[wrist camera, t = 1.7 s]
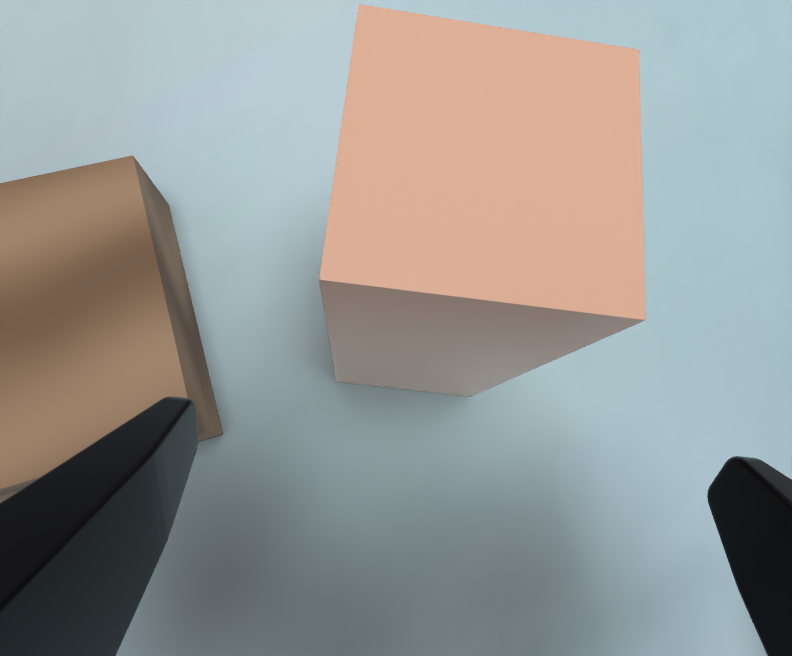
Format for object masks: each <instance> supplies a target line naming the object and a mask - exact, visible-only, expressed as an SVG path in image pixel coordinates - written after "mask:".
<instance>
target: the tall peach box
mask: <svg viewBox="0 0 792 656" xmlns="http://www.w3.org/2000/svg"><path fill="white" fill-rule="evenodd" d="M319 282H320V288H321V294H322V300H323V306H324V312H325V318H326V324H327V330H328V336H329V342H330V348H331V354H332V360H333V366H334V372H335V378H336V382H342V383H351V384H360V385H369V386H378V387H387V388H396V389H406V390H415V391H424V392H433V393H442V394H451V395H460V396H469V397H470V396H473V395H475V394H477V393H480V392H482V391H484V390H486V389H489V388H491V387H493V386H496V385H498V384H500V383H503V382H505V381H507V380H509V379H512V378H514V377H516V376H519V375H521V374H523V373H525V372H528V371H530V370H532V369H535V368H537V367H539V366H542V365H544V364H546V363H548V362H551V361H553V360H555V359H558V358H560V357H562V356H564V355H567V354H569V353H571V352H574V351H576V350H578V349H581V348H583V347H585V346H587V345H590V344H592V343H594V342H597V341H599V340H601V339H603V338H606V337H608V336H610V335H613V334H615V333H617V332H620V331H622V330H624V329H626V328H629V327H631V326H633V325H636V324H638V323H640V322H642V321H645V320H646V311H645V271H644V230H643V190H642V150H641V110H640V70H639V50H638V49H632V48H626V47H619V46H613V45H607V44H601V43H595V42H589V41H582V40H576V39H570V38H564V37H558V36H551V35H545V34H539V33H533V32H527V31H521V30H514V29H508V28H502V27H496V26H490V25H484V24H477V23H471V22H465V21H459V20H453V19H446V18H440V17H434V16H428V15H422V14H416V13H409V12H403V11H397V10H391V9H385V8H379V7H372V6H366V5H360V4H359V6H358V13H357V20H356V27H355V34H354V41H353V48H352V55H351V62H350V69H349V76H348V82H347V89H346V96H345V103H344V110H343V117H342V124H341V131H340V138H339V145H338V152H337V159H336V166H335V173H334V180H333V187H332V194H331V201H330V208H329V214H328V221H327V228H326V235H325V242H324V249H323V256H322V263H321V270H320V277H319Z"/></svg>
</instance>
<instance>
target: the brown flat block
mask: <svg viewBox="0 0 792 656" xmlns="http://www.w3.org/2000/svg"><path fill="white" fill-rule="evenodd" d="M169 396H172V397H182V398H190V399H192V400H193V401H194V403H195V407H196V417H197V428H198V442H199V441H203V440H206V439H209V438H212V437H216V436H219V435H222V434H223V432H222V427H221V423H220V419H219V415H218V411H217V406H216V402H215V398H214V394H213V390H212V385H211V381H210V377H209V373H208V368H207V364H206V360H205V356H204V352H203V347H202V343H201V339H200V335H199V330H198V326H197V322H196V318H195V314H194V309H193V305H192V301H191V297H190V293H189V288H188V284H187V280H186V276H185V271H184V267H183V263H182V259H181V255H180V250H179V246H178V242H177V238H176V234H175V229H174V225H173V221H172V217H171V212H170V208H169V204H168V203H167V202H166V200H165V199H164V197H163V196H162V195H161V193H160V192H159V191H158V189H157V188H156V186H155V185H154V184H153V182H152V181H151V180H150V178H149V177H148V175H147V174H146V173H145V171H144V170H143V169H142V167H141V166H140V164H139V163H138V162H137V160H136V159H135V158H134V156H129V157H124V158H119V159H114V160H109V161H105V162H100V163H95V164H90V165H86V166H81V167H76V168H71V169H67V170H62V171H57V172H52V173H48V174H43V175H38V176H33V177H29V178H24V179H19V180H14V181H9V182H5V183H0V502H2V501H4V500H6V499H7V498H9V497H10V496H12V495H13V494H15V493H17V492H18V491H20V490H21V489H23V488H24V487H26V486H27V485H29V484H31V483H32V482H34V481H35V480H37V479H38V478H40V477H41V476H43V475H45V474H46V473H48V472H49V471H51V470H52V469H54V468H55V467H57V466H58V465H60V464H62V463H63V462H65V461H66V460H68V459H69V458H71V457H72V456H74V455H76V454H77V453H79V452H80V451H82V450H83V449H85V448H86V447H88V446H90V445H91V444H93V443H94V442H96V441H97V440H99V439H100V438H102V437H104V436H105V435H107V434H108V433H110V432H111V431H113V430H114V429H116V428H118V427H119V426H121V425H122V424H124V423H125V422H127V421H128V420H130V419H132V418H133V417H135V416H136V415H138V414H139V413H141V412H142V411H144V410H145V409H147V408H149V407H150V406H152V405H153V404H155V403H156V402H158V401H159V400H161V399H163V398H165V397H169Z"/></svg>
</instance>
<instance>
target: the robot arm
mask: <svg viewBox="0 0 792 656" xmlns="http://www.w3.org/2000/svg"><path fill="white" fill-rule="evenodd" d="M197 446H198V428H197V417H196V407H195V403H194V401H193V400H192V399H190V398H182V397H172V396H169V397H165V398H163V399H161V400H159V401H158V402H156V403H155V404H153V405H152V406H150V407H149V408H147V409H145V410H144V411H142V412H141V413H139V414H138V415H136V416H135V417H133V418H132V419H130V420H128V421H127V422H125V423H124V424H122V425H121V426H119V427H118V428H116V429H114V430H113V431H111V432H110V433H108V434H107V435H105V436H104V437H102V438H100V439H99V440H97V441H96V442H94V443H93V444H91V445H90V446H88V447H86V448H85V449H83V450H82V451H80V452H79V453H77V454H76V455H74V456H72V457H71V458H69V459H68V460H66V461H65V462H63V463H62V464H60V465H58V466H57V467H55V468H54V469H52V470H51V471H49V472H48V473H46V474H45V475H43V476H41V477H40V478H38V479H37V480H35V481H34V482H32V483H31V484H29V485H27V486H26V487H24V488H23V489H21V490H20V491H18V492H17V493H15V494H13V495H12V496H10V497H9V498H7V499H6V500H4V501H3V502H1V503H0V656H116V654H117V651H118V649H119V647H120V645H121V642H122V640H123V638H124V636H125V634H126V631H127V629H128V627H129V625H130V623H131V620H132V618H133V616H134V614H135V611H136V609H137V607H138V605H139V603H140V600H141V598H142V596H143V594H144V592H145V589H146V587H147V585H148V583H149V581H150V578H151V576H152V574H153V572H154V569H155V567H156V565H157V563H158V561H159V558H160V556H161V554H162V551H163V549H164V547H165V544H166V542H167V539H168V537H169V534H170V531H171V528H172V525H173V522H174V519H175V516H176V513H177V509H178V506H179V503H180V500H181V497H182V494H183V491H184V488H185V485H186V482H187V478H188V475H189V472H190V469H191V466H192V463H193V460H194V457H195V454H196V450H197ZM707 497H708V503H709V506H710V509H711V512H712V515H713V518H714V521H715V524H716V527H717V529H718V532H719V535H720V538H721V541H722V544H723V547H724V550H725V553H726V556H727V559H728V562H729V564H730V567H731V570H732V573H733V576H734V579H735V581H736V584H737V587H738V590H739V592H740V594H741V597H742V599H743V601H744V604H745V606H746V608H747V611H748V613H749V615H750V617H751V619H752V622H753V624H754V626H755V628H756V631H757V633H758V635H759V637H760V640H761V642H762V644H763V646H764V648H765V651H766V653H767V655H768V656H792V480H791V479H790V478H788V477H786V476H785V475H783V474H782V473H780V472H779V471H777V470H776V469H774V468H773V467H771V466H769V465H768V464H766V463H765V462H763V461H761V460H759V459H756V458H749V457H739V456H735V457H732V458H730V459H728V460H727V462H726V463H725V464H724V466H723V467H722V469H721V470H720V472H719V473H718V475H717V476H716V478H715V479H714V481H713V482H712V484H711V485H710V487H709V489H708V496H707Z"/></svg>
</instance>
